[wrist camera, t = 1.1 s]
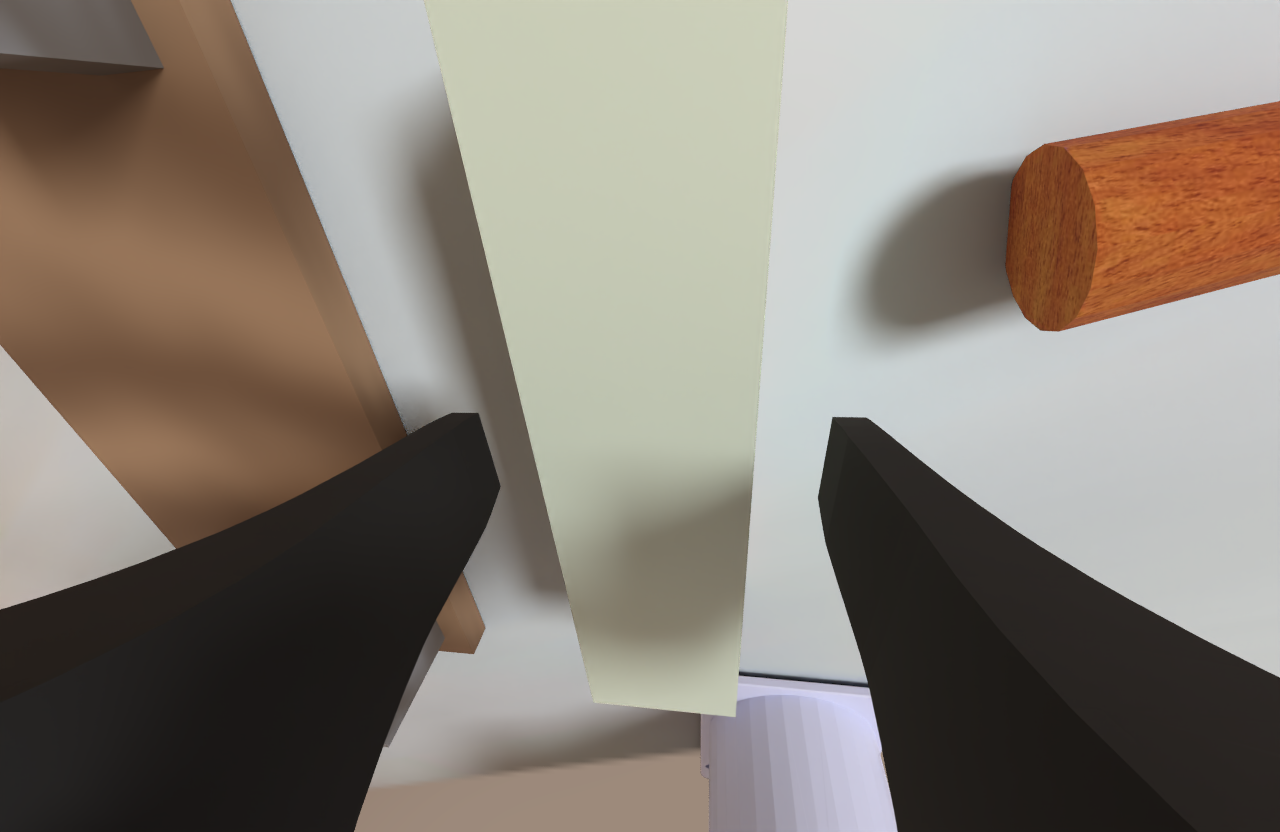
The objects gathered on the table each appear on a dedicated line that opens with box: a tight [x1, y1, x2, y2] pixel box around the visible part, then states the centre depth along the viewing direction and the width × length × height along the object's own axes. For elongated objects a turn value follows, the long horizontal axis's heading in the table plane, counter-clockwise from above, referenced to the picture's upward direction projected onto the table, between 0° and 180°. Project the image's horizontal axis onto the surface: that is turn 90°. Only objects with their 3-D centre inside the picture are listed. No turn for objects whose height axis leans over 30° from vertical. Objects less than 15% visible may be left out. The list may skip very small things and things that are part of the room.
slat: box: [424, 0, 788, 717], centre depth 11 cm, size 16×4×5 cm, turn 4°
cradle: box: [0, 0, 485, 747], centre depth 13 cm, size 25×11×5 cm, turn 4°
